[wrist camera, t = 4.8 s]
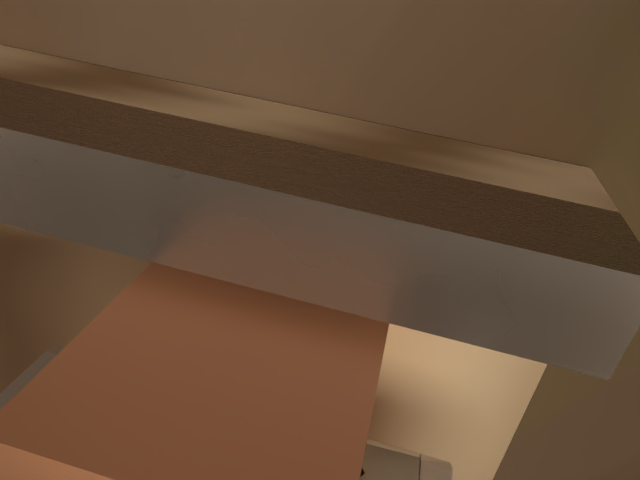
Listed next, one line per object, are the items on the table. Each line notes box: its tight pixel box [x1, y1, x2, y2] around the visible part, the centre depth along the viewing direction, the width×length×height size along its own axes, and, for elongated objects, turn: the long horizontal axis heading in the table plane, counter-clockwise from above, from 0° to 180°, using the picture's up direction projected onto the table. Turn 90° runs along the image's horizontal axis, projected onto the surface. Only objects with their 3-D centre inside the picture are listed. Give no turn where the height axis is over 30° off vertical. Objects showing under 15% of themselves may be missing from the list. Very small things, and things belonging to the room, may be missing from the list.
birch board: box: [0, 45, 619, 480], centre depth 13 cm, size 22×14×4 cm, turn 83°
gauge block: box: [0, 262, 389, 480], centre depth 9 cm, size 4×5×5 cm
